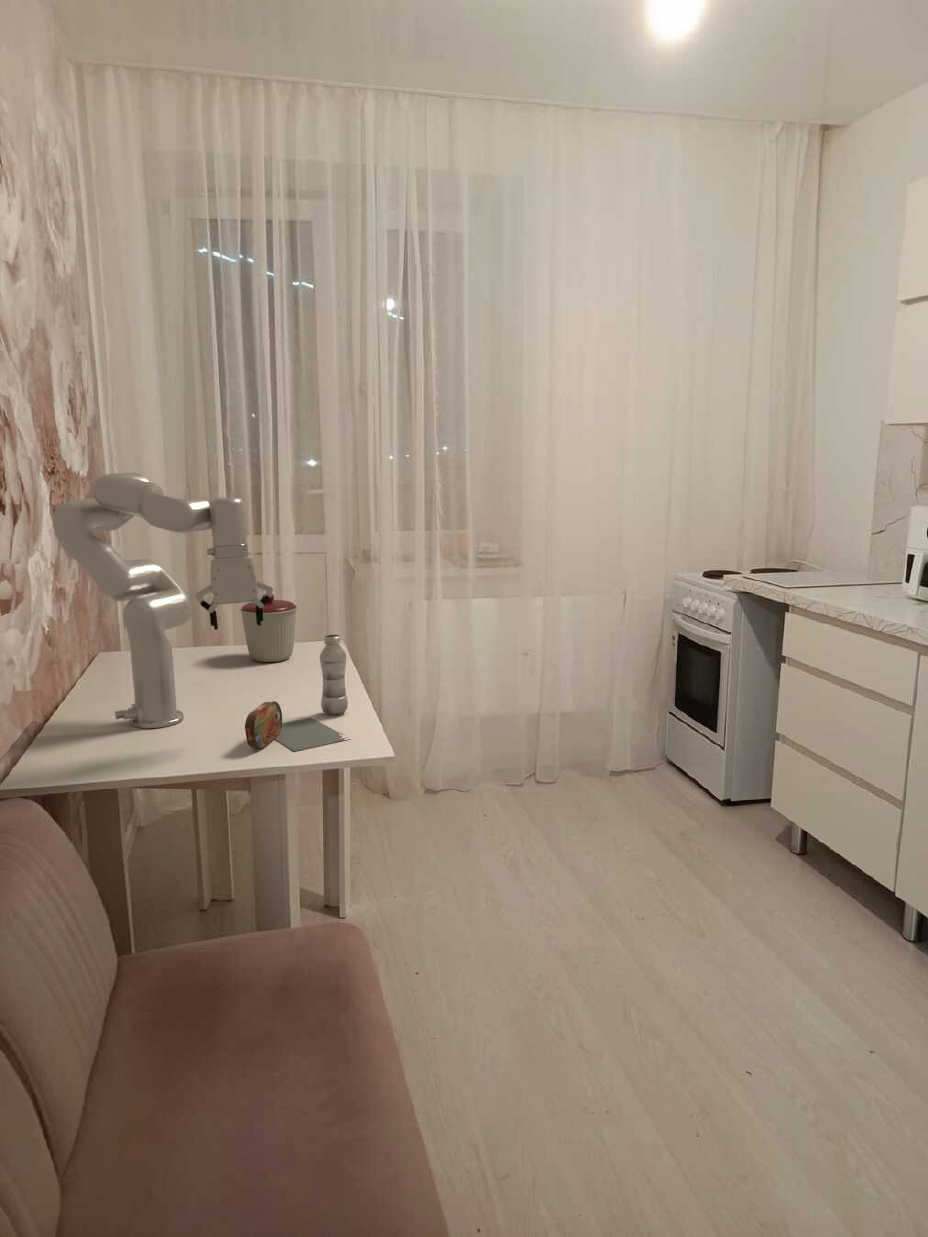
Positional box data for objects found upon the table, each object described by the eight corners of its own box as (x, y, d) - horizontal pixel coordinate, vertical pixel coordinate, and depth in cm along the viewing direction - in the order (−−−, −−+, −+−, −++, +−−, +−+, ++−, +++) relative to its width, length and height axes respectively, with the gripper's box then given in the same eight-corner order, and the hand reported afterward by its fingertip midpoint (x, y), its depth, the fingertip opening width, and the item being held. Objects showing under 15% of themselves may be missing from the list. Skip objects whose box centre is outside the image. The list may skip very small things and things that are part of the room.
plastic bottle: (318, 711, 227) (315, 634, 223) (345, 708, 229) (342, 632, 225) (324, 718, 221) (321, 639, 217) (351, 715, 223) (348, 637, 219)
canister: (302, 663, 276) (299, 596, 272) (241, 667, 272) (237, 599, 267) (299, 650, 293) (296, 587, 289) (242, 654, 289) (238, 589, 285)
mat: (294, 752, 197) (294, 751, 197) (258, 729, 213) (258, 728, 213) (350, 739, 205) (350, 738, 205) (311, 718, 221) (311, 717, 221)
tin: (257, 753, 196) (254, 717, 194) (244, 753, 197) (241, 716, 195) (284, 730, 211) (281, 696, 209) (272, 730, 211) (269, 696, 210)
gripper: (191, 557, 196) (199, 633, 199) (271, 551, 201) (277, 625, 204) (190, 553, 203) (197, 627, 206) (267, 548, 208) (273, 620, 211)
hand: (237, 626), depth 205 cm, fingers open, 9 cm apart
